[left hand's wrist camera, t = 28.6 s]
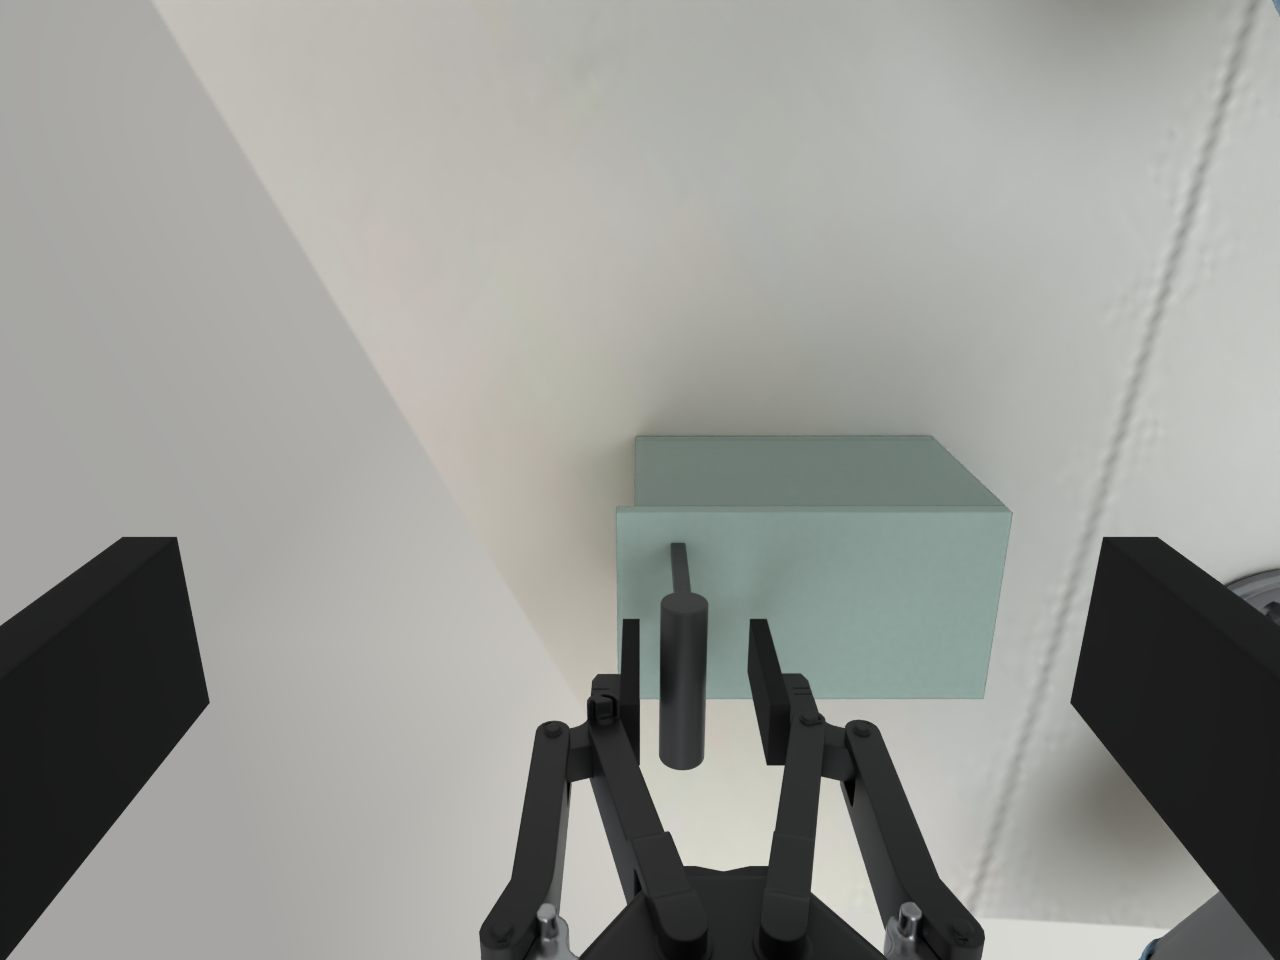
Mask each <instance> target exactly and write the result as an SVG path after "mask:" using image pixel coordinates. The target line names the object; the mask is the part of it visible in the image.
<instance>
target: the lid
mask: <svg viewBox="0 0 1280 960" xmlns="http://www.w3.org/2000/svg"><path fill="white" fill-rule="evenodd" d="M1011 520H1012V511H1011V510H1010V509H1009V508H1007V507H1006V506H618V507H617V510H616V537H617V627H618V674H621V652H622V625H623V619H640V699H660V711H659V757H660V759H661V761H662V762H663V764H665V765H666V766H668V767H670V768H672V769H676V770H689V769H693V768H695V767H697V766H699V765H700V764H701V763H702V761H703V759H704V742H705V708H706V699H753V697H752V692H751V687H750V682H749V678H748V673H747V666H748V646H749V625H750V619H767V621H768V625H769V628H770V632H771V635H772V639H773V643H774V646H775V650H776V654H777V657H778V661H779V664H780V668H781V672H782V673H801V674H802V675H803V676H804V677H805V678H806V679H807V680H808V681H809V685H810V688H811V691H812V695H813V697H814V699H983V698H984V692H985V685H986V679H987V673H988V666H989V660H990V653H991V647H992V641H993V634H994V628H995V622H996V615H997V609H998V603H999V596H1000V590H1001V583H1002V577H1003V571H1004V564H1005V558H1006V552H1007V545H1008V539H1009V532H1010V526H1011Z"/></svg>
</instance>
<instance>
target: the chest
mask: <svg viewBox="0 0 1280 960" xmlns="http://www.w3.org/2000/svg"><path fill="white" fill-rule="evenodd" d="M635 506H1005V505H1004V504H1003V503H1002V502H1001V501H1000V500H999V499H998V498H997V497H996V496H995V495H994V494H993V493H992V492H991V491H990V490H988V489H987V488H986V487H985V486H984V485H983V484H982V483H981V482H980V481H979V480H978V479H977V478H976V477H975V476H974V475H973V474H971V473H970V472H969V471H968V470H967V469H966V468H965V467H964V466H963V465H962V464H961V463H960V462H959V461H958V460H957V459H956V458H955V457H953V456H952V455H951V454H950V453H949V452H948V451H947V450H946V449H945V448H944V447H943V446H942V445H941V444H940V443H939V442H938V441H936V439H934V438H933V437H932V436H636V448H635Z"/></svg>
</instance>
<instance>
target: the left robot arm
mask: <svg viewBox="0 0 1280 960" xmlns="http://www.w3.org/2000/svg"><path fill="white" fill-rule="evenodd" d="M1272 1H1273V3H1274V5H1275V7H1276V9H1277V12H1278V14H1279V16H1280V0H1272ZM209 703H210V702H209V697H208V692H207V687H206V682H205V677H204V672H203V667H202V662H201V657H200V652H199V647H198V642H197V637H196V632H195V627H194V622H193V616H192V611H191V606H190V601H189V596H188V591H187V586H186V581H185V576H184V571H183V566H182V561H181V556H180V551H179V546H178V541H177V537H122V538H121V539H119V540H118V541H116V542H115V543H114V544H112V545H111V546H110V547H108V548H107V549H106V550H104V551H103V552H101V553H100V554H99V555H97V556H96V557H95V558H93V559H92V560H90V561H89V562H88V563H86V564H85V565H84V566H82V567H81V568H79V569H78V570H77V571H75V572H74V573H72V574H71V575H70V576H68V577H67V578H66V579H64V580H63V581H62V582H60V583H59V584H57V585H56V586H55V587H53V588H52V589H50V590H49V591H48V592H46V593H45V594H44V595H42V596H41V597H40V598H38V599H37V600H35V601H34V602H33V603H31V604H30V605H28V606H27V607H26V608H24V609H23V610H22V611H20V612H19V613H17V614H16V615H15V616H13V617H12V618H11V619H9V620H8V621H6V622H5V623H4V624H2V625H1V626H0V960H6V959H7V957H8V956H9V955H10V953H11V952H12V951H13V950H14V948H15V947H16V946H17V945H18V943H19V942H20V941H21V940H22V938H23V937H24V936H25V935H26V933H27V932H28V931H29V929H30V928H31V927H32V926H33V925H34V923H35V922H36V921H37V919H38V918H39V917H40V916H41V914H42V913H43V912H44V911H45V909H46V908H47V907H48V906H49V904H50V903H51V902H52V901H53V899H54V898H55V897H56V896H57V894H58V893H59V892H60V891H61V889H62V888H63V887H64V885H65V884H66V883H67V882H68V880H69V879H70V878H71V877H72V875H73V874H74V873H75V872H76V870H77V869H78V868H79V867H80V865H81V864H82V863H83V862H84V860H85V859H86V858H87V856H88V855H89V854H90V853H91V852H92V850H93V849H94V848H95V846H96V845H97V844H98V843H99V841H100V840H101V839H102V838H103V836H104V835H105V834H106V833H107V831H108V830H109V829H110V828H111V826H112V825H113V824H114V823H115V821H116V820H117V819H118V818H119V816H120V815H121V814H122V812H123V811H124V810H125V809H126V807H127V806H128V805H129V804H130V802H131V801H132V800H133V799H134V797H135V796H136V795H137V794H138V792H139V791H140V790H141V789H142V787H143V786H144V785H145V784H146V782H147V781H148V780H149V778H150V777H151V776H152V775H153V773H154V772H155V771H156V770H157V768H158V767H159V766H160V765H161V763H162V762H163V761H164V760H165V758H166V757H167V756H168V755H169V753H170V752H171V751H172V750H173V748H174V747H175V746H176V744H177V743H178V742H179V741H180V739H181V738H182V737H183V736H184V734H185V733H186V732H187V731H188V729H189V728H190V727H191V726H192V724H193V723H194V722H195V720H196V719H197V718H198V717H199V715H200V714H201V713H202V712H203V710H204V709H205V708H206V707H207V705H208V704H209ZM1070 703H1071V704H1072V705H1073V707H1074V708H1075V709H1076V711H1077V712H1078V713H1079V714H1080V716H1081V717H1082V718H1083V719H1084V721H1085V722H1086V723H1087V724H1088V726H1089V727H1090V728H1091V729H1092V731H1093V732H1094V733H1095V734H1096V736H1097V737H1098V738H1099V739H1100V741H1101V742H1102V743H1103V745H1104V746H1105V747H1106V748H1107V750H1108V751H1109V752H1110V753H1111V755H1112V756H1113V757H1114V758H1115V760H1116V761H1117V762H1118V763H1119V765H1120V766H1121V767H1122V768H1123V770H1124V771H1125V772H1126V773H1127V775H1128V776H1129V777H1130V778H1131V780H1132V781H1133V782H1134V784H1135V785H1136V786H1137V787H1138V789H1139V790H1140V791H1141V792H1142V794H1143V795H1144V796H1145V797H1146V799H1147V800H1148V801H1149V802H1150V804H1151V805H1152V806H1153V807H1154V809H1155V810H1156V811H1157V812H1158V814H1159V815H1160V816H1161V818H1162V819H1163V820H1164V821H1165V823H1166V824H1167V825H1168V826H1169V828H1170V829H1171V830H1172V831H1173V833H1174V834H1175V835H1176V836H1177V838H1178V839H1179V840H1180V841H1181V843H1182V844H1183V845H1184V846H1185V848H1186V849H1187V850H1188V852H1189V853H1190V854H1191V855H1192V857H1193V858H1194V859H1195V860H1196V862H1197V863H1198V864H1199V865H1200V867H1201V868H1202V869H1203V870H1204V872H1205V873H1206V874H1207V875H1208V877H1209V878H1210V879H1211V880H1212V882H1213V883H1214V884H1215V885H1216V887H1217V888H1218V889H1219V891H1220V892H1221V893H1222V894H1223V896H1224V897H1225V898H1226V899H1227V901H1228V902H1229V903H1230V904H1231V906H1232V907H1233V908H1234V909H1235V911H1236V912H1237V913H1238V914H1239V916H1240V917H1241V918H1242V919H1243V921H1244V922H1245V923H1246V925H1247V926H1248V927H1249V928H1250V930H1251V931H1252V932H1253V933H1254V935H1255V936H1256V937H1257V938H1258V940H1259V941H1260V942H1261V943H1262V945H1263V946H1264V947H1265V948H1266V950H1267V951H1268V952H1269V953H1270V955H1271V956H1272V957H1273V959H1274V960H1280V626H1279V625H1278V624H1276V623H1275V622H1274V621H1272V620H1271V619H1269V618H1268V617H1267V616H1265V615H1264V614H1263V613H1261V612H1260V611H1258V610H1257V609H1256V608H1254V607H1253V606H1252V605H1250V604H1249V603H1247V602H1246V601H1245V600H1243V599H1242V598H1241V597H1239V596H1238V595H1236V594H1235V593H1234V592H1232V591H1231V590H1230V589H1228V588H1227V587H1225V586H1224V585H1223V584H1221V583H1220V582H1219V581H1217V580H1216V579H1214V578H1213V577H1212V576H1210V575H1209V574H1208V573H1206V572H1205V571H1203V570H1202V569H1201V568H1199V567H1198V566H1197V565H1195V564H1194V563H1192V562H1191V561H1190V560H1188V559H1187V558H1186V557H1184V556H1183V555H1181V554H1180V553H1179V552H1177V551H1176V550H1175V549H1173V548H1172V547H1170V546H1169V545H1168V544H1166V543H1165V542H1164V541H1162V540H1161V539H1159V538H1158V537H1103V541H1102V546H1101V551H1100V556H1099V561H1098V566H1097V571H1096V576H1095V581H1094V586H1093V591H1092V596H1091V601H1090V606H1089V611H1088V616H1087V621H1086V626H1085V632H1084V637H1083V642H1082V647H1081V652H1080V657H1079V662H1078V667H1077V672H1076V677H1075V682H1074V687H1073V692H1072V697H1071V702H1070Z"/></svg>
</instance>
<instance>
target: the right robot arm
mask: <svg viewBox="0 0 1280 960" xmlns="http://www.w3.org/2000/svg"><path fill="white" fill-rule="evenodd" d="M1227 588H1228V589H1230V590H1231V591H1232V592H1234V593H1235V594H1236V595H1238V596H1239V597H1241V598H1242V599H1243V600H1245V601H1246V602H1247V603H1249V604H1250V605H1252V606H1253V607H1254V608H1256V609H1257V610H1258V611H1260V612H1261V613H1263V614H1264V615H1265V616H1267V617H1268V618H1269V619H1271V620H1272V621H1274V622H1275V623H1276V624H1278V625H1279V626H1280V570H1276V571H1271V572H1266V573H1262V574H1258V575H1254V576H1251V577H1248V578H1246V579H1243V580H1240V581H1238V582H1236V583H1233V584H1231V585H1229V586H1227ZM747 673H748V678H749V682H750V687H751V692H752V697H753V702H754V706H755V711H756V716H757V721H758V725H759V730H760V735H761V740H762V744H763V749H764V754H765V759H766V763H767V765H785V768H784V775H783V781H782V788H781V794H780V801H779V808H778V814H777V821H776V828H775V831H774V834H773V840H772V846H771V853H770V859H769V866H748V867H744V868H739V869H734V870H729V871H718V870H713V869H708V868H702V867H697V866H683V864H682V861H681V859H680V856H679V854H678V851H677V849H676V846H675V844H674V841H673V838H672V836H671V834H670V832H668V831H667V832H664V829H663V827H662V824H661V822H660V819H659V817H658V814H657V811H656V809H655V806H654V804H653V801H652V799H651V796H650V793H649V791H648V788H647V786H646V783H645V781H644V778H643V775H642V773H641V770H640V768H639V765H640V619H623V625H622V652H621V674H597V676H596V677H595V678H594V679H593V681H592V690H591V697H589V699H588V700H587V718H588V719H587V721H586V722H585V723H583V724H582V725H580V726H577V727H574V728H570V729H569V726H568V725H567V724H565V723H563V722H561V721H548V722H545V723H543V724H541V725H540V726H539V727H538V728H537V730H536V735H535V741H534V747H533V752H532V758H531V764H530V770H529V776H528V782H527V788H526V794H525V800H524V806H523V812H522V818H521V824H520V830H519V836H518V842H517V848H516V853H515V860H514V866H513V871H512V877H511V880H510V882H509V883H508V885H507V887H506V888H505V890H504V891H503V893H502V894H501V896H500V897H499V899H498V901H497V902H496V904H495V905H494V907H493V908H492V910H491V912H490V913H489V915H488V916H487V918H486V920H485V921H484V923H483V924H482V926H481V929H480V931H479V935H480V947H481V960H981V957H982V952H983V946H984V940H985V935H984V930H983V929H982V927H981V925H980V924H979V923H978V922H977V920H976V919H975V918H974V917H973V916H972V915H971V914H970V912H969V911H968V910H967V909H966V908H965V907H964V906H963V904H962V903H961V902H960V901H959V900H958V899H957V898H956V896H955V895H954V894H953V893H952V892H951V891H950V890H949V888H948V887H947V886H946V885H945V884H944V883H943V882H942V880H941V879H940V878H939V876H938V873H937V871H936V868H935V866H934V863H933V861H932V859H931V856H930V854H929V851H928V849H927V846H926V844H925V841H924V839H923V836H922V834H921V832H920V829H919V827H918V824H917V822H916V819H915V817H914V814H913V812H912V809H911V807H910V804H909V802H908V800H907V797H906V795H905V792H904V790H903V787H902V785H901V782H900V780H899V777H898V775H897V772H896V770H895V768H894V765H893V763H892V760H891V758H890V755H889V753H888V750H887V748H886V745H885V743H884V740H883V738H882V736H881V733H880V731H879V729H878V728H877V726H876V725H874V724H873V723H871V722H868V721H864V720H853V721H850V722H848V723H847V725H846V726H845V728H841V727H837V726H833V725H831V724H828V723H827V722H826V721H825V718H824V717H823V715H822V714H820V713H819V712H818V709H817V706H816V703H815V700H814V697H813V695H812V691H811V688H810V685H809V681H808V680H807V679H806V678H805V677H804V676H803V675H802V674H801V673H782V672H781V668H780V664H779V661H778V657H777V654H776V650H775V646H774V643H773V639H772V635H771V632H770V628H769V625H768V621H767V619H750V625H749V646H748V666H747ZM821 776H822V777H826V778H831V779H835V780H839V781H840V786H841V789H842V792H843V796H844V799H845V802H846V805H847V808H848V812H849V815H850V818H851V821H852V825H853V828H854V831H855V834H856V838H857V841H858V844H859V847H860V851H861V854H862V857H863V860H864V864H865V867H866V870H867V873H868V877H869V880H870V883H871V886H872V890H873V893H874V896H875V899H876V903H877V906H878V909H879V912H880V916H881V919H882V922H883V925H884V929H885V931H886V933H885V941H884V955H883V954H882V953H881V952H880V951H879V950H877V949H876V948H875V947H874V946H873V945H872V944H870V943H869V942H868V941H867V940H866V939H865V938H863V937H862V936H861V935H860V934H859V933H858V932H856V931H855V930H854V929H853V928H852V927H851V926H850V925H848V924H847V923H846V922H845V921H844V920H843V919H841V918H840V917H839V916H838V915H837V914H836V913H835V912H833V911H832V910H831V909H830V908H829V907H828V906H827V905H825V904H824V903H823V902H822V901H821V900H820V899H818V898H817V897H816V896H815V895H814V894H813V893H811V882H812V871H813V859H814V848H815V837H816V826H817V815H818V804H819V793H820V781H821ZM587 778H590V782H591V785H592V788H593V792H594V795H595V798H596V802H597V805H598V808H599V812H600V815H601V818H602V822H603V825H604V828H605V832H606V835H607V838H608V841H609V845H610V848H611V852H612V855H613V858H614V862H615V865H616V868H617V872H618V875H619V878H620V881H621V885H622V888H623V892H624V895H625V898H626V902H627V906H626V907H625V908H624V909H623V910H622V911H621V913H620V914H619V915H618V916H617V917H616V918H615V919H614V920H613V921H612V922H611V923H610V924H609V925H608V927H607V928H606V929H605V930H604V931H603V932H602V933H601V934H600V935H599V936H598V937H597V938H596V940H595V941H594V942H593V943H592V944H591V945H590V946H589V947H588V948H587V949H586V950H585V951H584V953H583V954H582V955H581V956H580V957H577V956H575V955H574V954H573V953H572V952H571V951H570V947H569V928H568V924H567V923H566V921H565V920H564V919H563V918H562V917H560V916H559V911H560V900H561V890H562V879H563V869H564V859H565V849H566V838H567V828H568V818H569V807H570V797H571V786H572V784H571V782H574V781H578V780H583V779H587ZM1139 960H1274V959H1273V957H1272V956H1271V955H1270V953H1269V952H1268V951H1267V950H1266V948H1265V947H1264V946H1263V945H1262V943H1261V942H1260V941H1259V940H1258V938H1257V937H1256V936H1255V935H1254V933H1253V932H1252V931H1251V930H1250V928H1249V927H1248V926H1247V925H1246V923H1245V922H1244V921H1243V919H1242V918H1241V917H1240V916H1239V914H1238V913H1237V912H1236V911H1235V909H1234V908H1233V907H1232V906H1231V904H1230V903H1229V902H1228V901H1227V899H1226V898H1225V897H1224V896H1223V894H1222V893H1221V892H1220V891H1219V892H1218V893H1217V894H1216V895H1214V896H1213V897H1212V898H1211V899H1209V900H1208V901H1207V902H1206V903H1204V904H1203V905H1202V906H1201V907H1199V908H1198V909H1197V910H1196V911H1194V912H1193V913H1192V914H1191V915H1189V916H1188V917H1187V918H1186V919H1184V920H1183V921H1182V922H1181V923H1179V924H1178V925H1177V926H1176V927H1174V928H1173V929H1172V930H1171V931H1169V932H1168V933H1167V934H1166V935H1164V936H1163V937H1161V938H1159V939H1155V940H1153V941H1152V942H1150V943H1149V944H1148V945H1147V946H1146V948H1145V949H1144V951H1143V953H1142V956H1141V958H1140V959H1139Z"/></svg>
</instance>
